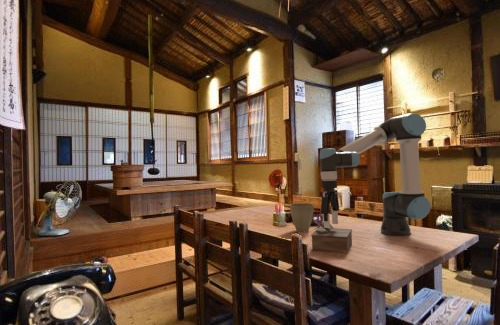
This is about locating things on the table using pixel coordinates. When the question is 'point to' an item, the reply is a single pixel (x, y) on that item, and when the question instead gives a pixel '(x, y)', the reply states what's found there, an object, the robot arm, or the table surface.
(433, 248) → the table surface
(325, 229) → the origami crane
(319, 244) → the walnut box
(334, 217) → the robot arm
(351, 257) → the table surface
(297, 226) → the plant pot
